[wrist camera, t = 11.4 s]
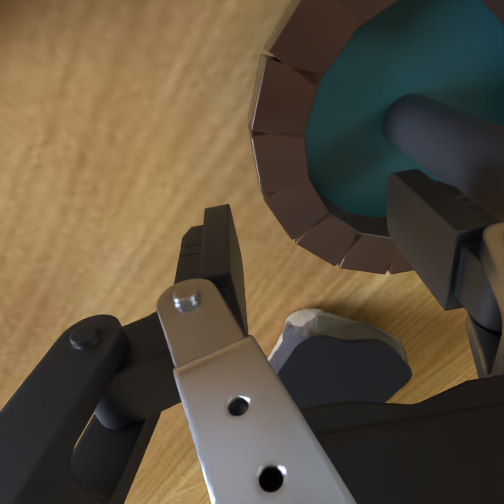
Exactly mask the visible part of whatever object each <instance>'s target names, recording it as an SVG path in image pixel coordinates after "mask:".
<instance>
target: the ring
mask: <svg viewBox="0 0 504 504" xmlns="http://www.w3.org/2000/svg"><path fill="white" fill-rule="evenodd" d="M397 1H399V0H292V1H291V3H290V5H289V6H288V8H287V10H286V11H285V13H284V14H283V16H282V18H281V19H280V21H279V23H278V24H277V26H276V27H275V29H274V31H273V32H272V34H271V36H270V37H269V39H268V40H267V42H266V44H265V45H264V48H265V49H266V50H267V51H269V52H270V53H271V54H272V55H274V56H275V57H272V56H268V55H264V54H261V55H260V60H259V65H258V70H257V75H256V80H255V85H254V90H253V95H252V100H251V105H250V110H249V115H248V118H249V122H250V124H249V125H248V127H249V133H250V138H251V144H252V149H253V155H254V160H255V166H256V171H257V176H258V181H259V186H260V190H261V193H262V194H263V198H264V201H265V202H266V204H267V205H268V207H269V208H270V210H271V211H272V212H273V214H274V215H275V217H276V218H277V220H278V221H279V222H280V224H281V225H282V227H283V228H284V230H285V231H286V233H287V234H288V235H289V237H290V238H291V239H292V240H293V239H295V242H296V244H298V245H300V246H301V247H303V248H305V249H306V250H308V251H310V252H312V253H313V254H315V255H317V256H318V257H320V258H322V259H323V260H325V261H327V262H329V263H330V264H332V265H334V266H335V265H336V264H337V263H338V265H339V267H340V268H344V269H351V270H358V271H365V272H372V273H379V274H386V272H387V270H388V271H389V272H390V274H396V273H401V272H407V271H412V270H414V269H413V268H412V266H411V265H410V264H409V262H408V261H407V260H406V258H405V257H404V256H403V254H402V253H401V252H400V250H399V249H398V248H397V246H396V245H395V244H394V242H393V241H392V240H391V238H390V235H389V232H388V228H387V218H382V219H380V218H375V217H369V216H363V215H357V214H351V213H347V212H346V211H344V210H343V209H341V208H340V207H338V206H337V205H335V204H334V203H332V202H331V201H329V200H328V199H326V198H325V197H323V196H322V195H320V194H319V192H318V190H317V189H316V187H315V185H314V184H313V182H312V180H311V179H310V177H309V169H308V159H307V149H306V139H305V131H306V128H307V124H308V121H309V117H310V114H311V110H312V107H313V104H314V100H315V97H316V93H317V90H318V86H319V83H320V80H321V79H322V77H323V76H324V75H325V73H326V72H327V70H328V69H329V68H330V66H331V65H332V63H333V62H334V61H335V59H336V58H337V56H338V55H339V54H340V52H341V51H342V49H343V48H344V47H345V45H346V44H347V42H348V41H349V40H350V38H351V37H352V35H353V34H354V33H355V31H356V30H357V29H359V28H360V27H362V26H363V25H364V24H366V23H367V22H369V21H370V20H372V19H373V18H374V17H376V16H377V15H379V14H380V13H382V12H383V11H384V10H386V9H387V8H389V7H390V6H392V5H393V4H394V3H396V2H397ZM482 1H483V2H484V3H485V4H486V6H487V7H488V8H489V9H490V10H491V11H492V13H493V14H494V15H495V16H496V17H497V18H498V20H499V21H500V22H501V23H502V24H503V25H504V0H482Z"/></svg>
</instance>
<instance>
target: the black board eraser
mask: <svg viewBox="0 0 504 504" xmlns="http://www.w3.org/2000/svg"><path fill="white" fill-rule="evenodd" d="M268 361H269V362H270V364H271V365H272V367H273V369H274V370H275V372H276V373H277V375H278V377H279V378H280V380H281V382H282V383H283V385H284V386H285V388H286V390H287V391H288V393H289V395H290V396H291V398H292V399H293V401H294V403H295V404H296V406H297V407H298V409H301V408H307V407H313V406H319V405H325V404H331V403H337V402H343V401H364V402H379V403H385V402H386V401H387V400H389V399H390V398H391V397H392V396H393V395H394V394H395V393H396V392H397V391H398V390H400V389H401V388H402V387H403V386H405V385H406V384H407V383H408V381H409V380H410V379H411V377H412V372H411V368H410V366H409V364H408V360H407V356H406V352H405V350H404V347H403V345H402V343H401V341H400V340H399V339H398V338H396V337H395V336H394V335H392V334H391V333H389V332H387V331H385V330H382V329H380V328H378V327H376V326H374V325H370V324H366V323H362V322H358V321H355V320H352V319H349V318H345V317H342V316H339V315H336V314H333V313H329V312H326V311H323V310H320V309H313V308H310V309H302V310H299V311H297V312H294V313H292V314H291V315H290V316H289V317H288V318H287V319H286V322H285V326H284V330H283V332H282V334H281V336H280V337H279V339H278V341H277V343H276V345H275V347H274V348H273V350H272V351H271V354H270V355H269V357H268Z"/></svg>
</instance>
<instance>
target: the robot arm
mask: <svg viewBox="0 0 504 504" xmlns="http://www.w3.org/2000/svg"><path fill="white" fill-rule="evenodd" d="M387 228H388V232H389V235H390V238H391V240H392V241H393V242H394V244H395V245H396V246H397V248H398V249H399V250H400V252H401V253H402V254H403V256H404V257H405V258H406V260H407V261H408V262H409V264H410V265H411V266H412V268H413V269H414V270H415V272H416V273H417V274H418V276H419V277H420V278H421V280H422V281H423V282H424V284H425V285H426V286H427V287H428V289H429V290H430V291H431V293H432V294H433V295H434V297H435V298H436V299H437V301H438V302H439V303H440V305H441V306H442V307H443V309H444V310H445V311H447V310H453V309H459V308H465V309H466V311H467V316H466V321H465V328H466V331H467V335H468V339H469V343H470V347H471V350H472V354H473V358H474V362H475V366H476V369H477V373H478V377H479V379H474V380H468V381H465V382H463V383H461V384H459V385H457V386H454V387H452V388H450V389H448V390H446V391H443V392H441V393H439V394H437V395H435V396H433V397H430V398H428V399H426V400H424V401H422V402H419V403H416V404H394V403H379V402H364V401H343V402H337V403H331V404H325V405H319V406H313V407H307V408H301V409H298V407H297V406H296V404H295V403H294V401H293V399H292V398H291V396H290V395H289V393H288V391H287V390H286V388H285V386H284V385H283V383H282V382H281V380H280V378H279V377H278V375H277V373H276V372H275V370H274V369H273V367H272V365H271V364H270V362H269V361H268V359H267V357H266V356H265V354H264V352H263V351H262V349H261V348H260V346H259V344H258V343H257V341H256V340H255V338H254V337H253V336H252V335H248V325H247V312H246V300H245V288H244V275H243V264H242V258H241V252H240V247H239V243H238V239H237V234H236V230H235V226H234V222H233V217H232V213H231V209H230V206H229V204H226V205H221V206H216V207H210V208H205V213H204V224H203V225H201V226H195V227H191V228H190V229H189V230H188V232H187V233H186V234H185V235H184V236H183V238H182V243H181V250H180V254H179V260H178V265H177V271H176V276H175V282H174V285H173V286H171V287H170V288H168V289H167V290H166V291H165V292H163V294H162V295H161V296H160V297H159V299H158V301H157V305H156V309H157V311H156V312H154V313H153V314H151V315H149V316H147V317H145V318H142V319H140V320H138V321H135V322H133V323H130V324H128V325H125V326H123V327H122V326H121V324H120V322H119V320H118V319H117V318H116V317H114V316H111V315H96V316H92V317H88V318H86V319H83V320H81V321H79V322H77V323H76V324H74V325H73V326H71V327H70V328H69V329H67V330H66V331H65V332H64V333H63V334H62V335H61V336H60V337H59V338H58V340H57V341H56V342H55V343H54V345H53V346H52V347H51V348H50V350H49V351H48V352H47V353H46V355H45V356H44V357H43V359H42V360H41V361H40V362H39V364H38V365H37V366H36V367H35V369H34V370H33V371H32V372H31V374H30V375H29V376H28V377H27V379H26V380H25V381H24V382H23V384H22V385H21V386H20V387H19V389H18V390H17V391H16V392H15V394H14V395H13V396H12V397H11V399H10V400H9V401H8V402H7V404H6V405H5V406H4V407H3V409H2V410H1V411H0V504H124V502H125V500H126V497H127V495H128V492H129V490H130V488H131V485H132V483H133V480H134V478H135V475H136V473H137V471H138V468H139V466H140V463H141V461H142V458H143V456H144V453H145V451H146V449H147V446H148V444H149V441H150V439H151V436H152V434H153V432H154V429H155V427H156V424H157V422H158V419H159V417H160V414H161V411H163V410H165V409H167V408H170V407H172V406H174V405H176V404H178V403H180V402H182V405H183V408H184V411H185V415H186V418H187V421H188V425H189V428H190V431H191V435H192V438H193V441H194V445H195V448H196V451H197V455H198V458H199V461H200V465H201V468H202V471H203V475H204V478H205V481H206V485H207V488H208V491H209V495H210V498H211V501H212V504H504V222H502V221H501V220H500V219H498V218H497V217H496V216H494V215H493V214H492V213H490V212H489V211H488V210H486V209H485V208H483V207H482V206H481V205H479V204H478V203H477V204H476V203H475V201H474V200H473V199H471V198H470V197H466V194H464V193H463V192H462V191H460V190H459V189H458V188H456V187H455V186H452V185H449V184H446V183H443V182H440V181H434V180H433V179H431V178H430V177H429V176H427V175H426V174H425V173H424V172H422V171H421V170H420V169H411V170H406V171H401V172H396V173H391V174H390V176H389V178H388V194H387ZM93 412H94V415H93V417H92V419H91V421H90V422H89V424H88V426H87V428H86V429H85V431H84V433H83V435H82V436H81V438H80V440H79V442H78V443H77V445H76V447H75V449H74V446H75V444H76V442H77V440H78V439H79V437H80V435H81V433H82V432H83V430H84V428H85V426H86V425H87V423H88V421H89V419H90V418H91V416H92V414H93ZM73 449H74V450H73Z"/></svg>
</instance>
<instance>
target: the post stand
mask: <svg viewBox="0 0 504 504" xmlns="http://www.w3.org/2000/svg"><path fill="white" fill-rule="evenodd" d="M305 139H306V149H307V159H308V169H309V177H310V179H311V180H312V182H313V184H314V185H315V187H316V189H317V190H318V192H319V194H320V195H322V196H323V197H325V198H326V199H328V200H329V201H331V202H332V203H334V204H335V205H337V206H338V207H340V208H341V209H343V210H344V211H346V212H347V213H351V214H357V215H363V216H369V217H375V218H385V217H387V194H388V178H389V176H390V174H391V173H396V172H401V171H406V170H411V169H420V170H421V171H422V172H424V173H425V174H426V175H427V176H429V177H430V178H431V179H433V180H434V181H440V182H443V183H446V184H449V185H452V186H455V187H456V188H458V189H459V190H460V191H462V192H463V193H464V194H466V197H470V198H471V199H473V200H474V201H475V203H476V204H477V203H478V204H479V205H481V206H482V207H483V208H485V209H486V210H488V211H489V212H490V213H492V214H493V215H494V216H496V217H497V218H498V219H500V220H501V221H502V222H504V25H503V24H502V23H501V22H500V21H499V20H498V18H497V17H496V16H495V15H494V14H493V13H492V11H491V10H490V9H489V8H488V7H487V6H486V4H485V3H484V2H483V1H482V0H399V1H397V2H396V3H394V4H393V5H392V6H390V7H389V8H387V9H386V10H384V11H383V12H382V13H380V14H379V15H377V16H376V17H374V18H373V19H372V20H370V21H369V22H367V23H366V24H364V25H363V26H362V27H360V28H359V29H357V30H356V31H355V33H354V34H353V35H352V37H351V38H350V40H349V41H348V42H347V44H346V45H345V47H344V48H343V49H342V51H341V52H340V54H339V55H338V56H337V58H336V59H335V61H334V62H333V63H332V65H331V66H330V68H329V69H328V70H327V72H326V73H325V75H324V76H323V77H322V79H321V80H320V83H319V86H318V90H317V93H316V97H315V100H314V104H313V107H312V110H311V114H310V117H309V121H308V124H307V128H306V131H305Z"/></svg>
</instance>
